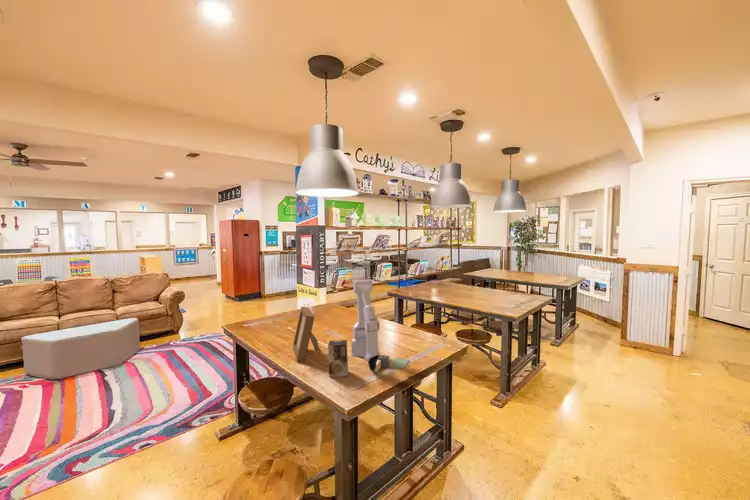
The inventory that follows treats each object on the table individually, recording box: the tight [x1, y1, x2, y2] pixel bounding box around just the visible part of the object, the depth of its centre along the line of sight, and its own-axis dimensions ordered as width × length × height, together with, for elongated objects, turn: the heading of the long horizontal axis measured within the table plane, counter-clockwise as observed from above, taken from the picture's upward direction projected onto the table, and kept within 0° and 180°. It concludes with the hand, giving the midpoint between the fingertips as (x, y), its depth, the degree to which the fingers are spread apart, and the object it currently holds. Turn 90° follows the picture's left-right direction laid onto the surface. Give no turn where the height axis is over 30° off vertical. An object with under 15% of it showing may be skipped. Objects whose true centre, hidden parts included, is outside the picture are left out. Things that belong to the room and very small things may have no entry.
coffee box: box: [327, 339, 349, 378], centre depth 156 cm, size 9×6×16 cm
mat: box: [388, 357, 410, 370], centre depth 167 cm, size 8×11×1 cm
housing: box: [378, 354, 390, 368], centre depth 166 cm, size 10×3×5 cm, turn 67°
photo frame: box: [292, 306, 319, 362], centre depth 183 cm, size 15×22×25 cm
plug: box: [370, 358, 383, 372], centre depth 163 cm, size 4×8×4 cm, turn 157°
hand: (372, 369), depth 158 cm, fingers closed
